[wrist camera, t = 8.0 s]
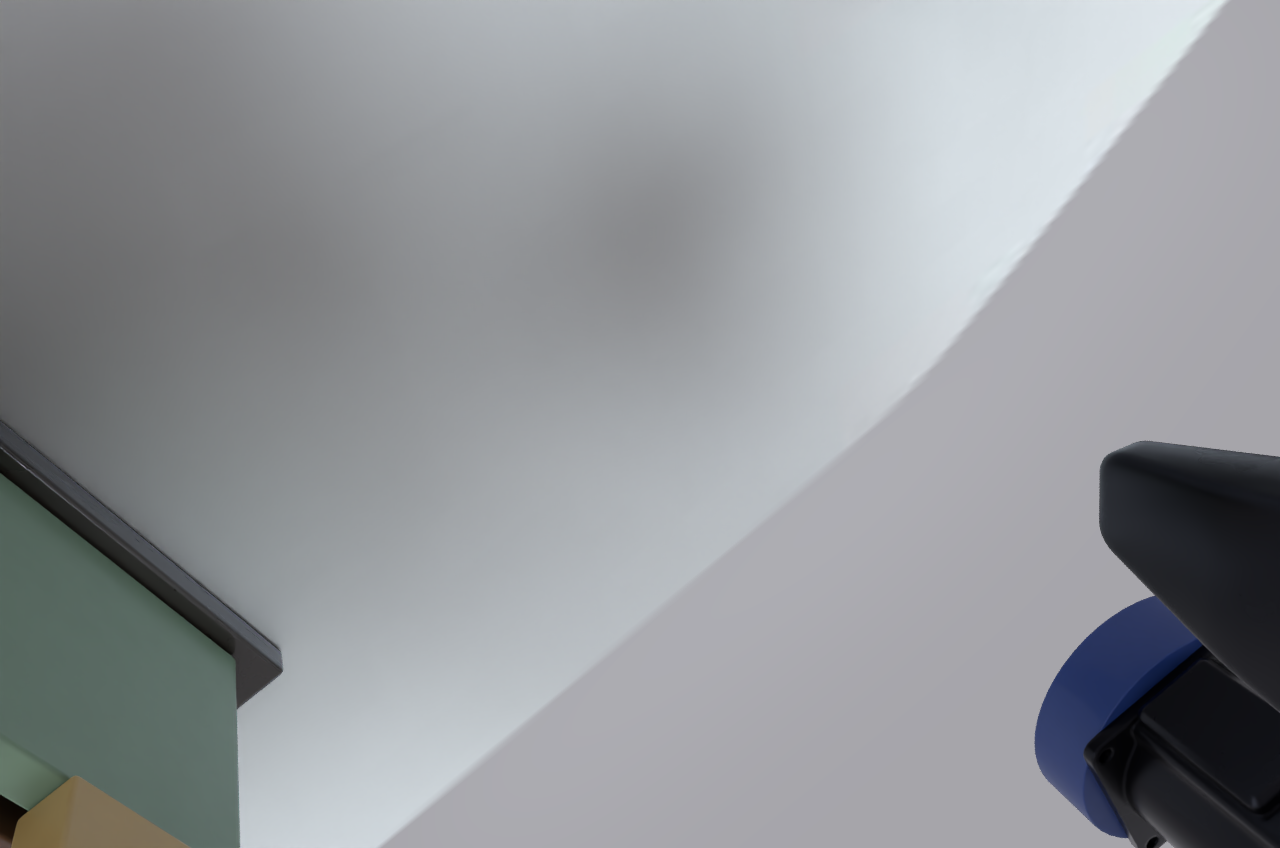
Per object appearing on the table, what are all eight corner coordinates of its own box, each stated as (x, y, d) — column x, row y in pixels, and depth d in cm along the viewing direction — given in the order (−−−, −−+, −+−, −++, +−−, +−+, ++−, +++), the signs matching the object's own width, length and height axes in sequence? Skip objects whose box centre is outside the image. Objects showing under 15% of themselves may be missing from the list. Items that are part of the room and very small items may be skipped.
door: (267, 672, 21) (297, 1100, 13) (228, 704, 21) (233, 1152, 13) (-37, 430, 17) (-261, 819, 9) (-86, 466, 17) (-355, 891, 9)
